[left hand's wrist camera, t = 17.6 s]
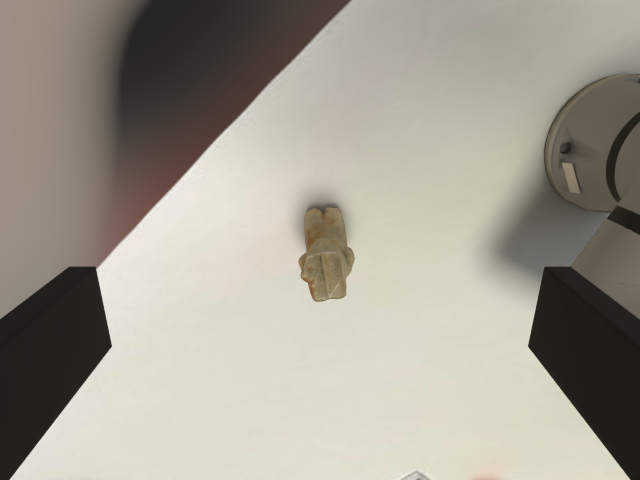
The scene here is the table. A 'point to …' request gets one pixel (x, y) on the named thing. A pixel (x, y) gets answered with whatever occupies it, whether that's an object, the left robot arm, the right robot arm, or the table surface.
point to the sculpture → (326, 254)
